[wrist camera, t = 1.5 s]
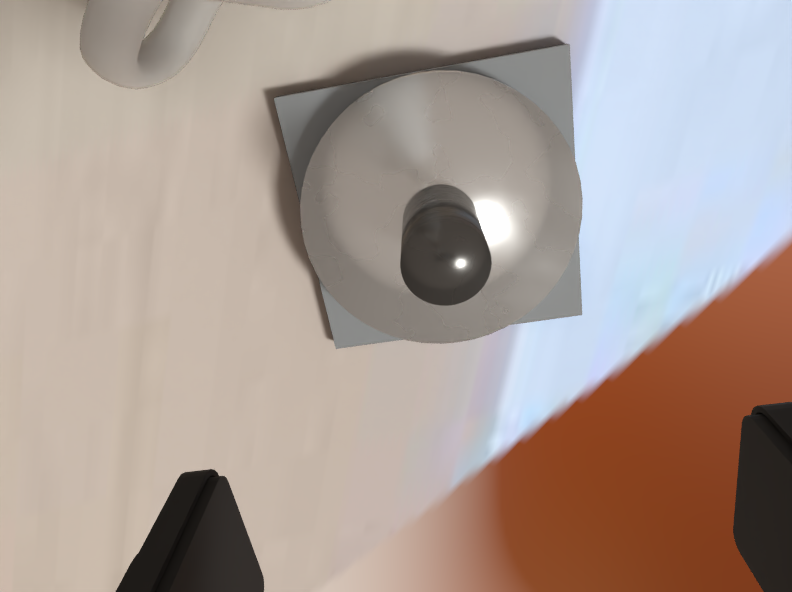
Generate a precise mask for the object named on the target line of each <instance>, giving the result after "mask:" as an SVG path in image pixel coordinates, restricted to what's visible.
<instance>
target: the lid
mask: <svg viewBox="0 0 792 592" xmlns="http://www.w3.org/2000/svg"><path fill="white" fill-rule="evenodd" d="M300 217H301V229H302V234H303V240H304V244H305V247H306V250H307V253H308V256H309V259H310V261H311V263H312V266H313V268H314V270H315V272H316V274H317V276H318V277H319V279H320V280H321V282H322V283H323V285H324V286H325V288H326V289H327V290H328V292H329V293H330V294H331V295H332V296H333V298H334V299H335V300H336V301H337V302H338V303H339V304H340V305H341V306H342V307H343V308H345V309H346V310H347V311H348V312H349V313H350V314H352V315H353V316H355V317H356V318H357V319H359V320H360V321H361V322H363V323H365V324H367V325H369V326H370V327H372V328H374V329H376V330H378V331H381V332H383V333H386V334H388V335H391V336H393V337H397V338H401V339H404V340H408V341H415V342H421V343H440V344H442V343H454V342H462V341H467V340H472V339H476V338H479V337H482V336H485V335H489V334H491V333H494V332H496V331H498V330H500V329H503V328H505V327H507V326H508V325H510V324H512V323H513V322H515V321H517V320H519V319H520V318H522V317H523V316H524V315H526V314H527V313H528V312H529V311H531V310H532V309H533V308H535V307H536V306H537V305H538V304H539V303H540V302H541V301H542V300H543V299H544V298H545V297H546V296H547V295H548V293H549V292H550V291H551V290H552V288H553V287H554V286H555V285H556V283H557V282H558V281H559V279H560V277H561V276H562V274H563V272H564V271H565V269H566V268H567V265H568V263H569V261H570V259H571V257H572V254H573V252H574V249H575V246H576V243H577V239H578V236H579V231H580V225H581V219H582V191H581V182H580V177H579V174H578V170H577V166H576V162H575V160H574V158H573V155H572V153H571V150H570V148H569V146H568V144H567V142H566V141H565V139H564V137H563V136H562V134H561V132H560V131H559V129H558V128H557V127H556V125H555V124H554V123H553V122H552V120H551V119H550V118H549V117H548V116H547V114H545V113H544V112H543V111H542V110H541V109H540V108H539V107H538V106H537V105H536V104H535V103H533V102H532V101H531V100H529V99H528V98H526V97H525V96H524V95H522V94H521V93H519V92H518V91H516V90H515V89H513V88H511V87H509V86H507V85H505V84H503V83H501V82H499V81H497V80H495V79H492V78H489V77H486V76H483V75H479V74H476V73H470V72H464V71H458V70H431V71H422V72H416V73H412V74H408V75H404V76H400V77H397V78H395V79H392V80H390V81H387V82H385V83H382V84H380V85H379V86H377V87H375V88H373V89H372V90H370V91H368V92H366V93H365V94H363V95H362V96H361V97H359V98H358V99H357V100H356V101H354V102H353V103H352V104H350V105H349V106H348V107H347V108H346V109H345V110H344V111H343V112H342V113H341V114H340V115H339V116H338V117H337V118H336V120H335V121H334V122H333V123H332V125H331V126H330V127H329V129H328V130H327V131H326V133H325V134H324V135H323V137H322V138H321V140H320V142H319V144H318V145H317V147H316V149H315V151H314V153H313V155H312V157H311V160H310V162H309V165H308V168H307V170H306V174H305V178H304V182H303V187H302V192H301V203H300Z"/></svg>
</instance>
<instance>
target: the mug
mask: <svg viewBox="0 0 792 592" xmlns="http://www.w3.org/2000/svg"><path fill="white" fill-rule="evenodd" d="M162 1H163V0H88V3H87V6H86V9H85V13H84V16H83V20H82V25H81V31H80V50H81V54H82V57H83V59H84V60H85V62H86V63H87V65H88V66H89V67H90V68H91V69H92V70H93V71H94V72H95V73H96V74H97V75H99V76H100V77H101V78H102V79H104V80H106V81H109V82H111V83H113V84H115V85H117V86H120V87H124V88H129V89H142V88H148V87H152V86H155V85H158V84H161V83H163V82H165V81H167V80H169V79H170V78H172V77H173V76H175V75H176V74H177V73H178V72H180V71H181V70H182V69H183V68H184V67H185V66H186V64H187V63H188V62H189V61H190V60H191V58H192V57H193V55H194V54H195V52H196V51H197V49H198V47H199V46H200V44H201V42H202V40H203V38H204V36H205V35H206V33H207V31H208V29H209V27H210V25H211V23H212V21H213V19H214V17H215V15H216V13H217V11H218V9H219V7H220V6H221V4H222V3H223V2H228V3H238V4H244V5H252V6H261V7H268V8H274V9H285V10H296V9H304V8H310V7H314V6H317V5H321V4H324V3H326V2H329V1H331V0H169V2H168V4H167V6H166V8H165V10H164V13H163V15H162V16H161V18H160V20H159V22H158V23H157V25H156V26H155V28H154V29H153V30H152V32H151V33H150V34H149V35H148V36H147V37H146V38H145V39H144V40H143V38H144V36H145V33H146V31H147V29H148V26H149V24H150V22H151V20H152V18H153V16H154V14H155V12H156V10H157V9H158V7H159V5H160V4H161V2H162Z"/></svg>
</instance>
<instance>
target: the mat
mask: <svg viewBox="0 0 792 592" xmlns="http://www.w3.org/2000/svg"><path fill="white" fill-rule="evenodd" d="M431 70H458V71H464V72H470V73H476V74H479V75H483V76H486V77H489V78H492V79H495V80H497V81H499V82H501V83H503V84H505V85H507V86H509V87H511V88H513V89H515V90H516V91H518V92H519V93H521V94H522V95H524V96H525V97H526V98H528V99H529V100H531V101H532V102H533V103H535V104H536V105H537V106H538V107H539V108H540V109H541V110H542V111H543V112H544V113H545V114H547V116H548V117H549V118H550V119H551V120H552V122H553V123H554V124H555V125H556V127H557V128H558V129H559V131H560V132H561V134H562V136H563V137H564V139H565V141H566V142H567V144H568V146H569V148H570V150H571V153H572V155H573V158H574V160H575V149H574V127H573V105H572V84H571V62H570V44H562V45H556V46H551V47H545V48H540V49H535V50H529V51H524V52H518V53H513V54H507V55H502V56H496V57H491V58H485V59H480V60H474V61H469V62H463V63H458V64H452V65H447V66H441V67H436V68H431V69H425V70H420V71H414V72H409V73H403V74H398V75H392V76H387V77H381V78H376V79H370V80H365V81H359V82H354V83H348V84H343V85H337V86H332V87H326V88H321V89H316V90H310V91H305V92H299V93H294V94H288V95H283V96H277V97H275V98H274V101H275V105H276V109H277V113H278V117H279V122H280V126H281V130H282V134H283V138H284V142H285V146H286V150H287V154H288V158H289V162H290V166H291V170H292V174H293V178H294V182H295V186H296V190H297V194H298V198H299V202H300V203H301V192H302V187H303V182H304V178H305V174H306V170H307V168H308V165H309V162H310V160H311V157H312V155H313V153H314V151H315V149H316V147H317V145H318V144H319V142H320V140H321V138H322V137H323V135H324V134H325V133H326V131H327V130H328V129H329V127H330V126H331V125H332V123H333V122H334V121H335V120H336V118H337V117H338V116H339V115H340V114H341V113H342V112H343V111H344V110H345V109H346V108H347V107H348V106H349V105H350V104H352V103H353V102H354V101H356V100H357V99H358V98H359V97H361V96H362V95H363V94H365V93H366V92H368V91H370V90H372V89H373V88H375V87H377V86H379V85H380V84H382V83H385V82H387V81H390V80H392V79H395V78H397V77H400V76H404V75H408V74H412V73H416V72H422V71H431ZM318 279H319V277H318ZM319 283H320V287H321V291H322V295H323V299H324V303H325V307H326V311H327V315H328V319H329V323H330V327H331V331H332V335H333V339H334V343H335V347H336V349H338V348H346V347H353V346H360V345H367V344H375V343H382V342H389V341H396V340H404V339H401V338H397V337H393V336H391V335H388V334H386V333H383V332H381V331H378V330H376V329H374V328H372V327H370V326H369V325H367V324H365V323H363V322H361V321H360V320H359V319H357V318H356V317H355V316H353V315H352V314H350V313H349V312H348V311H347V310H346V309H345V308H343V307H342V306H341V305H340V304H339V303H338V302H337V301H336V300H335V299H334V298H333V296H332V295H331V294H330V293H329V292H328V290H327V289H326V288H325V286H324V285H323V283H322V282H321V280H320V279H319ZM578 315H582V300H581V278H580V257H579V236H578V239H577V243H576V246H575V249H574V252H573V254H572V257H571V259H570V261H569V263H568V265H567V268H566V269H565V271H564V272H563V274H562V276H561V277H560V279H559V281H558V282H557V283H556V285H555V286H554V287H553V288H552V290H551V291H550V292H549V293H548V295H547V296H546V297H545V298H544V299H543V300H542V301H541V302H540V303H539V304H538V305H537V306H536V307H535V308H533V309H532V310H531V311H529V312H528V313H527V314H526V315H524V316H523V317H522V318H520V319H519V320H517V321H515V322H513V323H512V324H520V323H527V322H534V321H541V320H549V319H556V318H563V317H570V316H578ZM512 324H510V325H512Z"/></svg>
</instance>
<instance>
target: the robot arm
mask: <svg viewBox="0 0 792 592" xmlns="http://www.w3.org/2000/svg"><path fill="white" fill-rule="evenodd" d="M733 533H734V539H735V542H736V545H737V548H738V550H739V552H740V554H741V555H742V557H743V558H744V560H745V562H746V563H747V565H748V567H749V568H750V570H751V572H752V573H753V575H754V577H755V578H756V580H757V581H758V583H759V585H760V586H761V588H762V589H763V591H764V592H792V402H785V403H777V404H769V405H760V406H756V407H754V408H753V410H752V413H751V415H748V416H745V417H744V418H743V421H742V429H741V442H740V454H739V466H738V478H737V490H736V502H735V514H734V526H733ZM116 592H264V579H263V575H262V572H261V569H260V566H259V564H258V561H257V558H256V555H255V553H254V550H253V547H252V545H251V542H250V539H249V536H248V534H247V531H246V528H245V526H244V523H243V520H242V518H241V515H240V512H239V509H238V507H237V504H236V501H235V499H234V496H233V493H232V490H231V488H230V485H229V482H228V480H227V478H226V477H225V476H219V475H218V473H217V472H216V471H215V470H212V469H210V470H201V471H193V472H185V473H183V474H181V475H180V477H179V478H178V480H177V482H176V484H175V486H174V488H173V489H172V491H171V493H170V495H169V497H168V499H167V501H166V503H165V505H164V506H163V508H162V510H161V512H160V514H159V516H158V518H157V520H156V521H155V523H154V525H153V527H152V529H151V531H150V533H149V535H148V536H147V538H146V540H145V542H144V544H143V546H142V548H141V550H140V552H139V553H138V554H137V555H136V557H135V558H134V559H133V561H132V562H131V564H130V566H129V568H128V570H127V572H126V573H125V575H124V577H123V579H122V581H121V583H120V585H119V587H118V588H117V590H116Z"/></svg>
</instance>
